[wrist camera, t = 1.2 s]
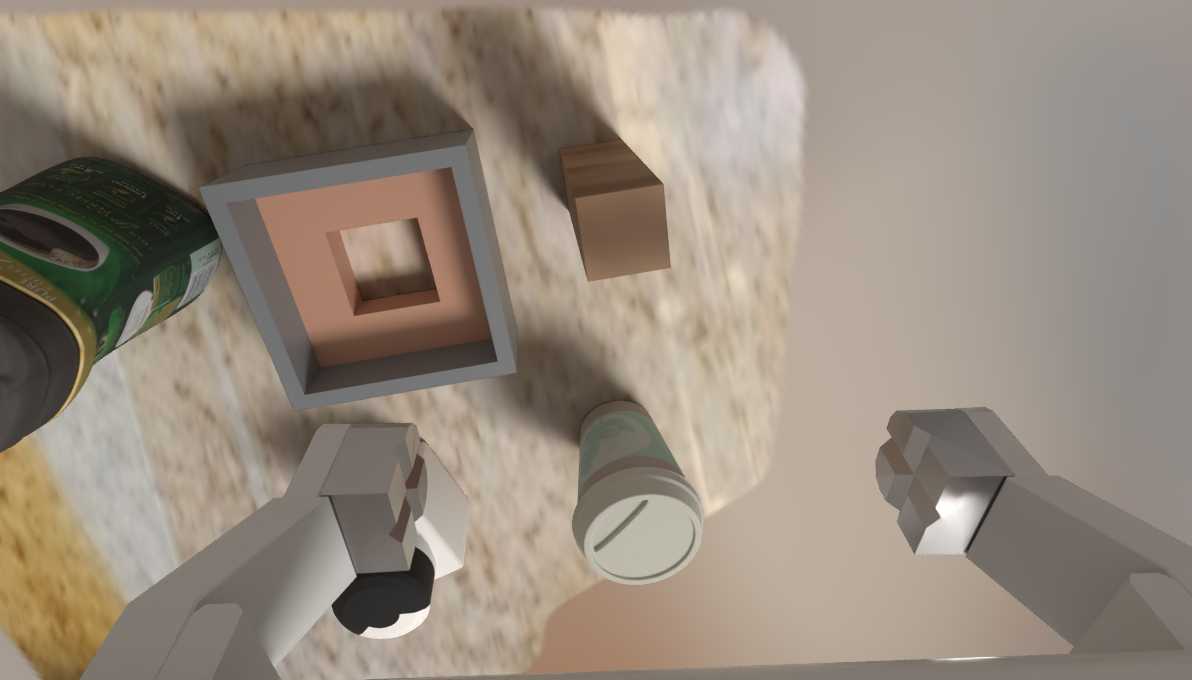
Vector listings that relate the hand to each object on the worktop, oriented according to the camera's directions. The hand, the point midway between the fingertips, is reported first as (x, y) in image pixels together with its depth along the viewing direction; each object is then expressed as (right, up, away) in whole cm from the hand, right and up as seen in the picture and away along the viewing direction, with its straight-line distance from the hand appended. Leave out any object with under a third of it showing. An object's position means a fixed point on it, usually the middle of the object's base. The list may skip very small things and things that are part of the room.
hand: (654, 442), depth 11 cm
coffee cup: (+1, -5, +39) cm, 39 cm away
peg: (-1, +12, +29) cm, 32 cm away
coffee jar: (-29, +8, +28) cm, 42 cm away
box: (-14, +7, +30) cm, 34 cm away
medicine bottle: (-16, -10, +39) cm, 43 cm away
